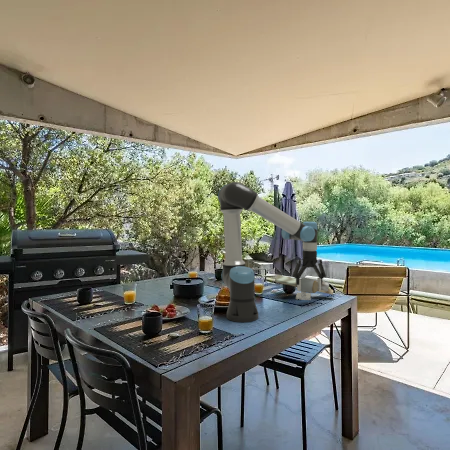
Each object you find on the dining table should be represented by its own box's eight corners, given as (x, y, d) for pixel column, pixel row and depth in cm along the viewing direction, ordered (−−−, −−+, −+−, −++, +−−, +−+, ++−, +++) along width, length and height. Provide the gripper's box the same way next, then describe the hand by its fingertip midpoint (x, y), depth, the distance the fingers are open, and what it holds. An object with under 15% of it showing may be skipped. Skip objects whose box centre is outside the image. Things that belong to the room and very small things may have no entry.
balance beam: (274, 283, 191) (275, 275, 191) (277, 278, 206) (278, 271, 205) (333, 296, 183) (334, 288, 182) (332, 290, 197) (333, 282, 197)
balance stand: (296, 299, 190) (295, 286, 190) (297, 294, 201) (297, 282, 201) (310, 300, 188) (310, 287, 187) (310, 295, 199) (310, 283, 199)
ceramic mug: (313, 294, 174) (313, 280, 174) (298, 292, 179) (299, 278, 179) (320, 291, 182) (321, 277, 182) (306, 289, 187) (307, 275, 187)
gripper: (326, 249, 185) (325, 288, 186) (286, 249, 180) (286, 289, 181) (333, 250, 178) (332, 291, 179) (292, 251, 173) (291, 292, 174)
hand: (309, 290), depth 180 cm, fingers closed on ceramic mug, 11 cm apart
